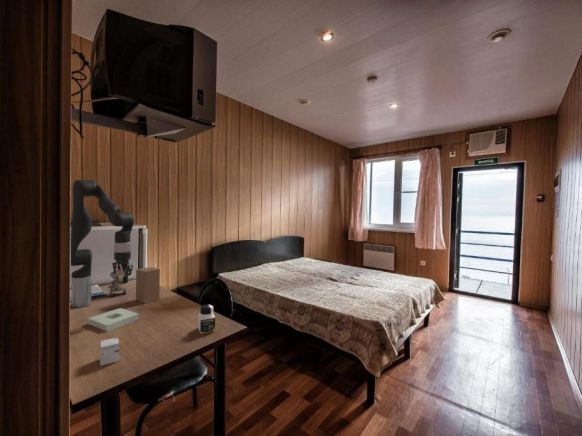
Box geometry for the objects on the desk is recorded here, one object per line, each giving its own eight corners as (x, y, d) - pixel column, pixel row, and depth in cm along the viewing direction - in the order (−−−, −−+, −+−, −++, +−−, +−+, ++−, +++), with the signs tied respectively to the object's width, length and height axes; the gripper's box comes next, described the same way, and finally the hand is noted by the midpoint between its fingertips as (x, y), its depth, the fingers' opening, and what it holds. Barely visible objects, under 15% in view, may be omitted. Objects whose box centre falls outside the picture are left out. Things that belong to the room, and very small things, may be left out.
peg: (115, 288, 141) (115, 269, 141) (123, 286, 145) (123, 267, 145) (121, 289, 139) (121, 270, 139) (129, 287, 143) (129, 268, 143)
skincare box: (100, 366, 101) (100, 347, 100) (100, 358, 106) (100, 340, 105) (119, 361, 104) (119, 342, 104) (118, 354, 109) (118, 336, 109)
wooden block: (159, 299, 172) (160, 268, 171) (144, 304, 164) (144, 271, 163) (151, 296, 177) (151, 266, 176) (135, 300, 169) (135, 269, 168)
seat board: (88, 324, 135) (88, 318, 134) (120, 313, 149) (120, 307, 149) (106, 331, 128) (106, 325, 127) (138, 319, 142) (138, 313, 142)
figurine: (123, 290, 187) (123, 269, 186) (126, 295, 178) (126, 272, 178) (107, 293, 181) (107, 271, 180) (110, 297, 172) (110, 274, 172)
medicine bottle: (200, 334, 128) (200, 309, 128) (197, 327, 134) (198, 304, 134) (215, 331, 131) (215, 307, 131) (212, 325, 138) (212, 302, 137)
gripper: (106, 250, 141) (106, 282, 142) (124, 253, 135) (124, 286, 136) (120, 248, 148) (120, 279, 148) (138, 250, 142) (138, 282, 142)
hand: (122, 282), depth 142 cm, fingers closed on peg, 4 cm apart
